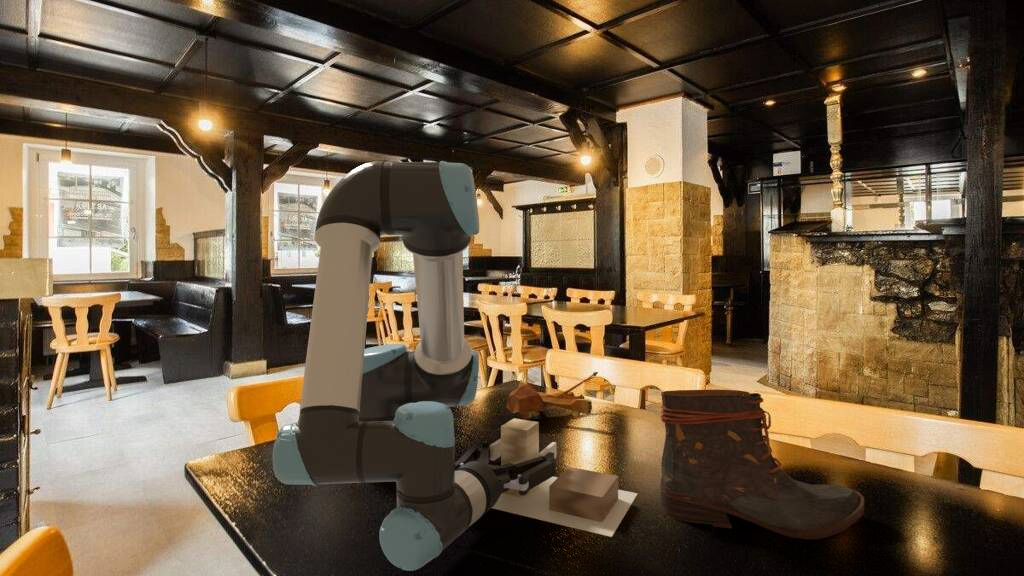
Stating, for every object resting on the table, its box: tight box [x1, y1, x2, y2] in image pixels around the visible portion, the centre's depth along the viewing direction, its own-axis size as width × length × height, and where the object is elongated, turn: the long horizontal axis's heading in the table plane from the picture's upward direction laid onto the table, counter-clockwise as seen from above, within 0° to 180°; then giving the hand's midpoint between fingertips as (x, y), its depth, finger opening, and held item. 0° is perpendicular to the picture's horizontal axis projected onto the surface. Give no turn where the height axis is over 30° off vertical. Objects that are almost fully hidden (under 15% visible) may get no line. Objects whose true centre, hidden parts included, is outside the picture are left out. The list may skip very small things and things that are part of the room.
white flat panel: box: [491, 476, 639, 538], centre depth 91 cm, size 26×16×1 cm, turn 63°
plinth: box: [549, 466, 619, 522], centre depth 88 cm, size 9×9×4 cm
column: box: [500, 418, 540, 499], centre depth 93 cm, size 5×5×12 cm
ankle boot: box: [659, 389, 865, 540], centre depth 83 cm, size 11×31×20 cm, turn 82°
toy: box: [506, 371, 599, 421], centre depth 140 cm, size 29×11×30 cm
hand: (531, 445), depth 97 cm, fingers open, 9 cm apart
